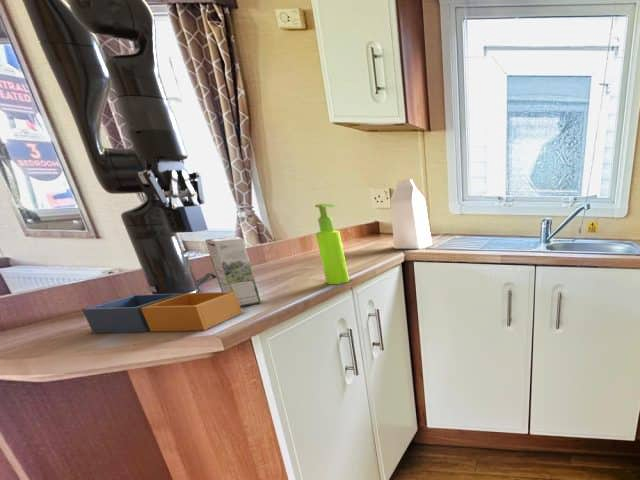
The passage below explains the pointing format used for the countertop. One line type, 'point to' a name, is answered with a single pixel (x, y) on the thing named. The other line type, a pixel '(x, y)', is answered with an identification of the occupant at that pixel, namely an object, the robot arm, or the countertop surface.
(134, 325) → the slate bin
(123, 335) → the countertop surface
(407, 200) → the milk
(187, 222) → the slate block
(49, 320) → the countertop surface
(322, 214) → the soap dispenser
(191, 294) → the honey bin
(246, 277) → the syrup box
